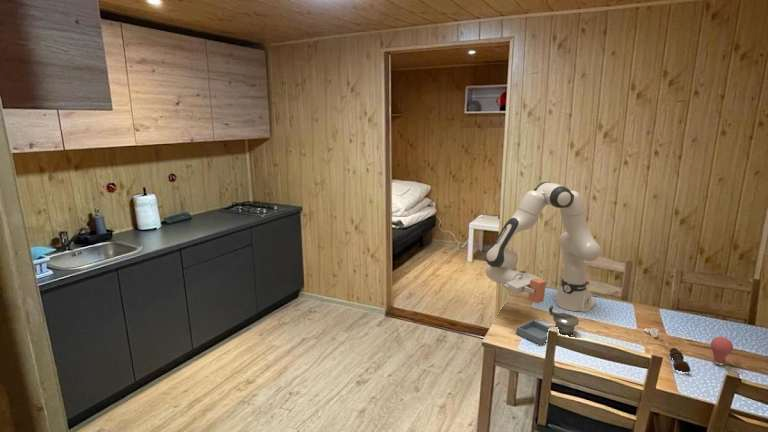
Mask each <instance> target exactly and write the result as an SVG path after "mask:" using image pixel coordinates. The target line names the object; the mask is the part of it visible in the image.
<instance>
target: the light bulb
mask: <svg viewBox="0 0 768 432" xmlns="http://www.w3.org/2000/svg"><path fill="white" fill-rule="evenodd" d="M733 345H734V344H733V343H732V341H731V340H729V339H728V338H727V337H723V336H717V337H714V338H713V339H711V341H710V347H711V350H712V353H713V355H712V356H713V361H716V362H718V363H726V359H727V357H728V356H729V355H731V354H732V352H733V350H734V346H733Z"/></svg>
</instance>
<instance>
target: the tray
mask: <svg viewBox="0 0 768 432" xmlns="http://www.w3.org/2000/svg"><path fill="white" fill-rule="evenodd" d="M549 328H551V327H549V326H547V325H545V324H543V323H541V322H539V321H536V320H534V319H532V320H530V321H527V322H524V323H523V324H520V325H519V326H516V331H515V334H516V335H517V336H519V337H520V338H523V339H525V340H527V341H529V342H531V343H533V344H535V345H537V344H538V345H537V346H539V345H542V344H543V345H545V344H547V343H546V340H547V332H548V329H549ZM544 343H545V344H544ZM543 345H542V346H543Z"/></svg>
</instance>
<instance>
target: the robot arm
mask: <svg viewBox="0 0 768 432" xmlns="http://www.w3.org/2000/svg"><path fill="white" fill-rule="evenodd" d="M546 206H552V207H554V208H557V209H560V216H561V222H562V226H563V229H564V230H565V232H562V234H560V236H559V237H558V242H557V243H558V245H559V247H560V249H561V252H562V259H563V273H562V279H561V281H560V285H559V286H558V288H557V293H556V296H555V297H554V298H553V300H554V301H555V303H556V305H557V306H558V307H560V308H561V309H564V310H566V311H567V310H568V311H571V312H572V311H573V312H582V313H588V312H589V311H590V310H591V309H592V308H594V306H596V304H597V302H596V301H595V300H593V298H592V296H593V293H592V292H591V291H590V290H589V289H588V288H587V286H589V285H590V281H588V280H587V276H588V275H587V274H588V266H587V265H586V263H585V261H587V262H594V261H597V259H599V258H600V256H601V254H602V248H601V246H600V245H599V243H598V242H597V241H596V240H595V238H594V236H593V234H592V231H591V229H590V228H589V225H588V222H587V216H586V211H585V206H584V203H583V200H582V197H581V194H580V193H579V192H578V191H575V190H570V189H569V188H568V187H566V186H563V185H561V184H559V183H554V182H550V181H543V182H541V183H539V184H537V186H536V187H535V188H534V189H533V190H529V191H528V190H527V192H526V193H525V194H524V196H523V197H522V199H521V201H520V202H519V203H518V206H517V208H516V210H515V212H514V213H513V215H512V216H511V217H510V219H508V220H507V221H506V222H505V224H504V226H503V227H502V228H501V230H500V231H499V234H498V235H497V237H496V239H495V240H494V242H493V243H492V244H491V245H490V246H489V248H488V249H487V250H486V252H485V261H486V264H487V266H486V268H485V275H486V277H487V278H488V279H489V280H490V281H493V282H495V283H497V284H499V285H502V287H504V288H506V290H508V291H509V292H511V293H512V294H515V295H519V294H521V293H529V292H531V293H535V292H536V290H535V289H533V288H532V289H531V288H530V280H532V279H534V278H539V279H542V278H541V277H540V276H537V275H536V274H531V273H529V272H528V271H522V270H521V271H519V270H515V268H516V266H517V263H518V259H519V258H518V254H517V253H516V252H515V251H514V250H512V249H508V248H507V247H508V245H509V244H510V242H511V240H512V238H513V237H514V236H515V235H516V234H518V233H520V232H522V231H527V230H530V229H532V228H534V226H535V225H536V223H537V222H538V219H539V217H540V215H541V214H542V211H543V209H544V208H545V207H546Z"/></svg>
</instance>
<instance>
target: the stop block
mask: <svg viewBox="0 0 768 432" xmlns="http://www.w3.org/2000/svg"><path fill="white" fill-rule="evenodd" d="M546 284H547V280H544V279H542V278H541V279H539V278H534V279H532V280H530V288H531V289H532V288H533V289H535V290H536V292H535V293H531V292H528V298H527V300H529V301H531V302H532V303H535V304H540V303H542V302H544V301H545V293H546V286H547V285H546Z"/></svg>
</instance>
